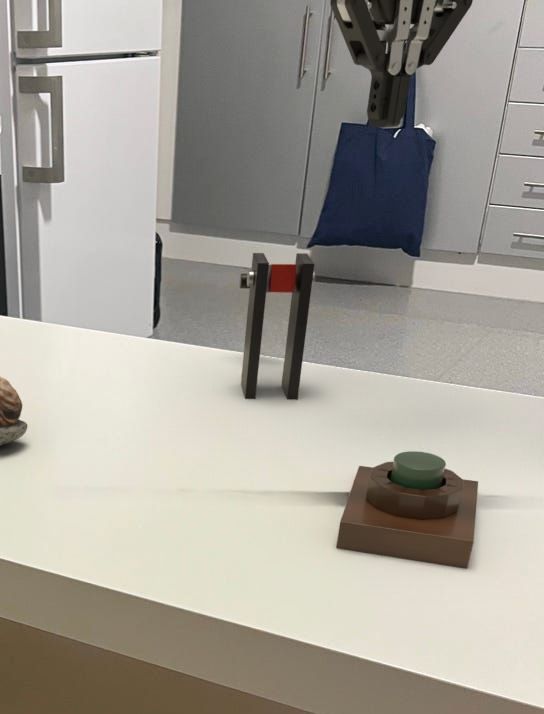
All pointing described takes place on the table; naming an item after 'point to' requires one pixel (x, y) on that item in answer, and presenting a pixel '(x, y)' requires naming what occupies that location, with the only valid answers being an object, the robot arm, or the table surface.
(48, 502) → the table surface
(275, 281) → the lever
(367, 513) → the button block
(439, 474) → the button
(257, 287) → the bracket
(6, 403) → the bison figurine
